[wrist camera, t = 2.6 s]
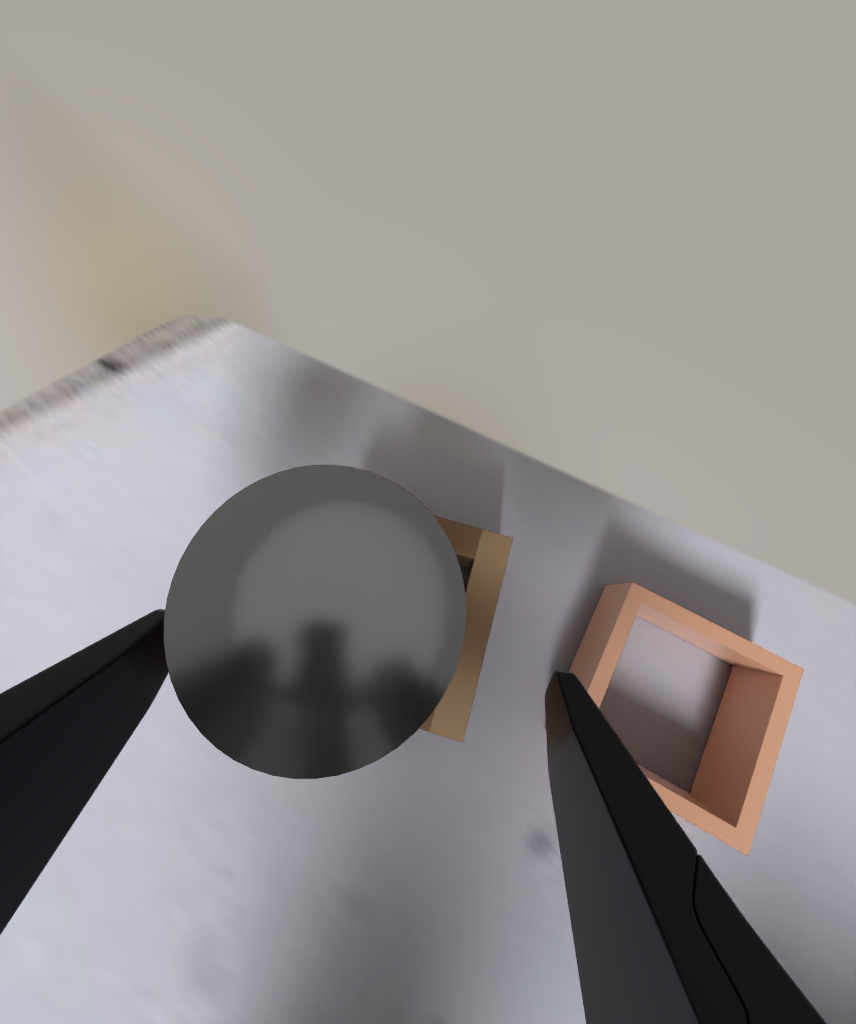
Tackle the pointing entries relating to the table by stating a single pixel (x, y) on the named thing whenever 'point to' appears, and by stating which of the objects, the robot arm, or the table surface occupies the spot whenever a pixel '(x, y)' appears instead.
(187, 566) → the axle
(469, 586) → the wooden square frame
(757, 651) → the socket block
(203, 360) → the table surface
